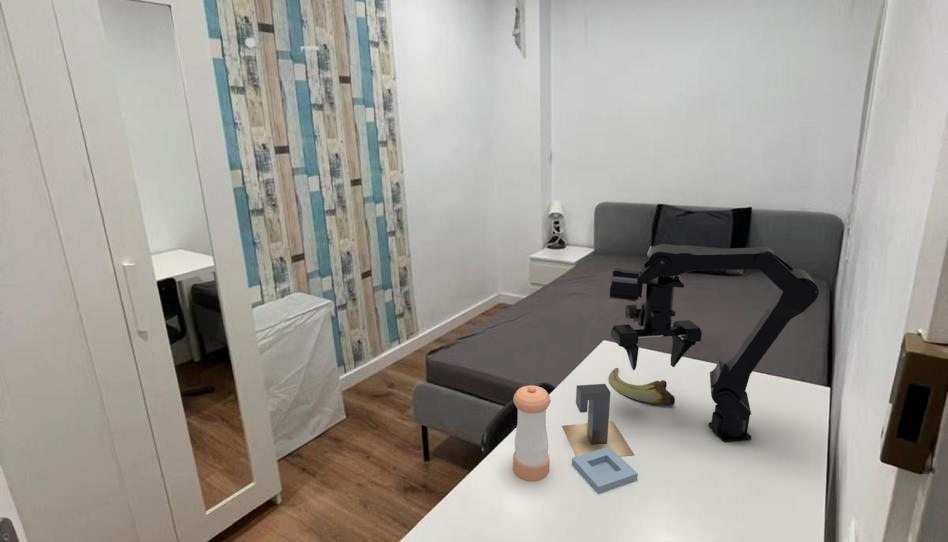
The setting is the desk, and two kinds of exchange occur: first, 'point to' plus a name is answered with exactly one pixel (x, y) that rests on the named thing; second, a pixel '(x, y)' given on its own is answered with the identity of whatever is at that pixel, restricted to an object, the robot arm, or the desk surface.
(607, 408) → the grey hook block
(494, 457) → the desk surface
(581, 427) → the tan metal pad
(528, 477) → the salt shaker
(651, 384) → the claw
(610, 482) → the square socket block
